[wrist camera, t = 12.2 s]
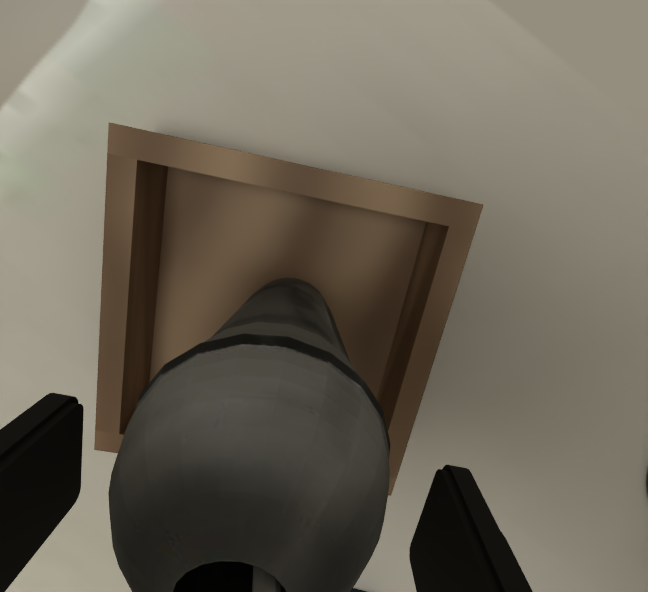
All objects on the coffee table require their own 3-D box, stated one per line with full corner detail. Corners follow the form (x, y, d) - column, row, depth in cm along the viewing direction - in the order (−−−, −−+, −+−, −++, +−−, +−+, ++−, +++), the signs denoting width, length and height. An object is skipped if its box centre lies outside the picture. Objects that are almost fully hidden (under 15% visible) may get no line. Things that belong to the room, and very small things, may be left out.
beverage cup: (215, 257, 21) (-1140, 1275, 1) (349, 247, 21) (801, 1137, 1) (234, 377, 23) (-214, 1445, 4) (356, 368, 23) (572, 1388, 4)
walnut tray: (449, 199, 21) (483, 204, 17) (378, 442, 25) (390, 495, 21) (154, 135, 20) (108, 122, 15) (133, 401, 24) (94, 449, 20)
